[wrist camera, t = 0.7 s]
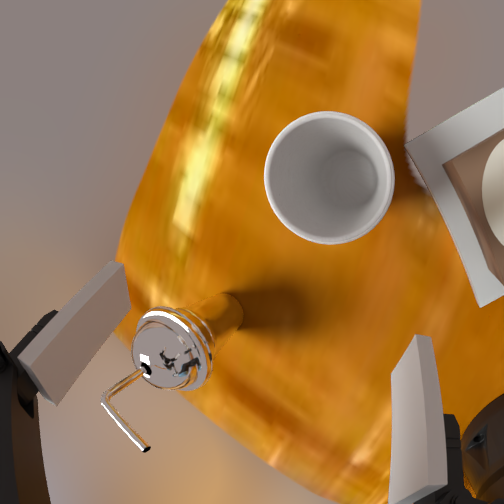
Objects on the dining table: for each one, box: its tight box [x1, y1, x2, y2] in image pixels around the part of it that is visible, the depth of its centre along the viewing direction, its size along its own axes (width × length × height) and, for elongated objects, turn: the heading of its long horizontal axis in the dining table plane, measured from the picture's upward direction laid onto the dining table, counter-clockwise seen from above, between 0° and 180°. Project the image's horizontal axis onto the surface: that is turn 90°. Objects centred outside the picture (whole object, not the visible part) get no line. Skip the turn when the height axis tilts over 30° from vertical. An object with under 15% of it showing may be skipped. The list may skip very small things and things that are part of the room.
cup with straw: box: [101, 293, 244, 452], centre depth 27 cm, size 8×9×20 cm
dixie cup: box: [264, 111, 395, 244], centre depth 23 cm, size 8×8×10 cm
